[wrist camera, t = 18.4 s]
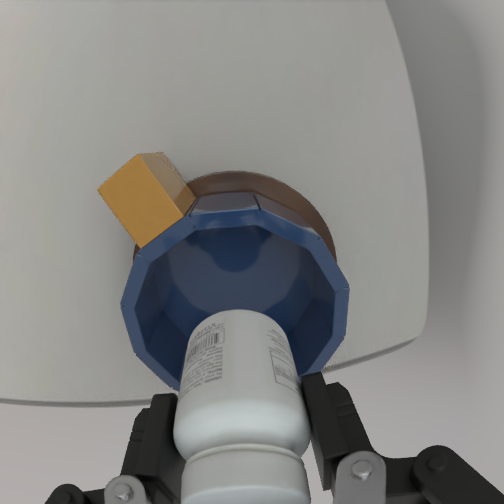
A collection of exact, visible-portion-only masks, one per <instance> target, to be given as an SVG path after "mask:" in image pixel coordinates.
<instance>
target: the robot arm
mask: <svg viewBox="0 0 504 504" xmlns="http://www.w3.org/2000/svg"><path fill="white" fill-rule="evenodd" d="M300 382H301V390H302V393H303V397H304V400H305V404H306V408H307V412H308V415H309V420H310V425H311V443H312V446H313V450H314V455H315V459H316V463H317V466H318V471H319V475H320V478H321V482H322V487H323V491H325V490H329V489H331V492H332V495H333V504H504V495H503V494H502V493H501V492H500V491H499V490H497V489H496V488H495V487H494V486H493V485H492V484H490V483H489V482H488V481H487V480H486V479H485V478H484V477H483V476H481V475H480V474H479V473H478V472H477V471H476V470H474V469H473V468H472V467H471V466H470V465H469V464H468V463H466V462H465V461H464V460H463V459H462V458H461V457H460V456H459V455H457V454H456V453H455V452H454V451H453V450H451V449H450V448H448V447H445V446H441V445H440V446H439V445H436V446H431V447H428V448H426V449H424V450H423V451H421V452H420V453H419V454H418V456H417V457H409V458H394V459H393V458H387V457H384V456H381V455H380V454H378V453H377V452H376V451H375V450H374V449H373V448H372V446H371V444H370V441H369V439H368V436H367V434H366V431H365V429H364V427H363V424H362V422H361V420H360V417H359V415H358V413H357V411H356V409H355V406H354V404H353V401H352V398H351V396H350V394H349V392H348V390H347V389H346V388H345V387H343V386H342V385H341V384H340V383H339V382H336V383H332V384H328V385H326V383H325V381H324V378H323V375H322V373H321V372H316V373H311V374H306V375H301V376H300ZM177 402H178V398H177V396H176V394H175V393H169V394H155V395H154V396H153V398H152V402H151V406H150V408H146V409H145V408H143V409H142V411H141V412H140V413H139V414H138V416H137V417H136V418H135V421H134V425H133V429H132V432H131V436H130V441H129V443H128V447H127V451H126V454H125V458H124V462H123V466H122V470H121V474H120V476H118V477H115V478H113V479H112V480H111V481H109V483H108V484H107V485H106V487H105V488H104V489H98V490H93V491H85V492H83V491H81V490H80V489H79V488H78V487H77V486H75V485H73V484H63V485H60V486H58V487H57V488H56V489H55V490H54V491H53V492H52V494H51V495H50V497H49V498H48V500H47V501H46V502H45V504H181V485H182V474H183V471H184V467H185V464H186V462H187V461H186V460H185V459H184V458H183V457H182V456H181V454H180V453H179V451H178V450H177V448H176V445H175V442H174V437H173V429H174V421H175V414H176V408H177Z"/></svg>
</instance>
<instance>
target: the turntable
mask: <svg viewBox="0 0 504 504" xmlns="http://www.w3.org/2000/svg"><path fill="white" fill-rule="evenodd" d="M186 185H187V186H188V187H189V189H190V190H191V192H192V193H193V194H194V196H195V197H196V199H197V198H198V197H200V198H201V196H207V195H216V194H222V193H241V192H252V193H254V192H255V193H257V194H259V195H261V196H264V197H266V198H268V199H270V200H273V201H275V202H277V203H279V204H281V205H282V206H284V207H286V208H288V209H290V210H292V211H294V212H296V213H298V214H299V215H300V216H301V217H302V218H303V219H304V220H305V221H306V222H307V223H308V224H309V225H310V226H311V227H312V228H313V229H314V231H315V232H316V233H317V234H318V235H319V236H320V237H321V238H322V239H323V241H324V243H325V244H326V246H327V248H328V249H329V251H330V253H331V254H332V256H333V258H334V260H335V261H336V263H337V259H336V252H335V246H334V243H333V240H332V236H331V234H330V232H329V229H328V227H327V225H326V223H325V222H324V220H323V218H322V217H321V215H320V214H319V212H318V211H317V210H316V209H315V208H314V207H313V205H312V204H311V203H310V202H309V201H308V200H307V199H305V198H304V197H303V196H302V195H301V194H300V193H298V192H297V191H295V190H294V189H292V188H291V187H289V186H288V185H286V184H285V183H283V182H280V181H278V180H276V179H274V178H272V177H269V176H265V175H262V174H258V173H253V172H246V171H224V172H216V173H212V174H208V175H204V176H201V177H198V178H196V179H193V180H191V181H189V182H187V183H186ZM140 249H141V248H140V247H139V246H138V245H137V243H136V245H135V250H134V256H133V262H134V259H135V257H136V254H137V253H138V251H139V250H140Z"/></svg>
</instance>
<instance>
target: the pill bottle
mask: <svg viewBox="0 0 504 504" xmlns="http://www.w3.org/2000/svg"><path fill="white" fill-rule="evenodd" d="M173 437H174V442H175V445H176V448H177V450H178V451H179V453H180V454H181V456H182V457H183V458H184V459H185V460H186V461H187V462H186V464H185V467H184V471H183V474H182V485H181V504H310V503H311V497H310V491H309V485H308V479H307V474H306V470H305V468H304V463H303V461H302V459H301V456H302V455H303V454H304V452H305V451H306V449H307V448H308V445H309V443H310V439H311V425H310V420H309V415H308V412H307V408H306V404H305V400H304V397H303V393H302V390H301V386H300V382H299V378H298V375H297V371H296V367H295V364H294V360H293V356H292V353H291V349H290V346H289V342H288V340H287V337H286V335H285V333H284V331H283V330H282V328H281V327H280V326H279V325H278V324H277V323H276V322H275V321H274V320H273V319H271V318H270V317H268V316H266V315H264V314H261V313H258V312H255V311H251V310H240V309H237V310H228V311H222V312H219V313H216V314H214V315H212V316H210V317H208V318H206V319H205V320H204V321H202V322H201V323H200V324H199V325H198V326H197V327H196V328H195V329H194V331H193V332H192V334H191V336H190V339H189V342H188V347H187V351H186V356H185V363H184V368H183V374H182V379H181V385H180V391H179V397H178V402H177V408H176V414H175V421H174V429H173Z"/></svg>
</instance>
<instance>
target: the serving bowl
mask: <svg viewBox="0 0 504 504" xmlns="http://www.w3.org/2000/svg"><path fill="white" fill-rule="evenodd" d="M97 191H98V192H99V194H100V195H101V196H102V198H103V199H104V201H105V202H106V203H107V205H108V206H109V208H110V209H111V210H112V212H113V213H114V214H115V216H116V217H117V218H118V220H119V221H120V222H121V224H122V225H123V226H124V228H125V229H126V230H127V232H128V233H129V234H130V236H131V237H132V238H133V240H134V241H135V242H136V243H137V245H138V246H139V247H140V248H141V249H140V250H139V251H138V253H137V254H136V257H135V259H134V262H133V265H132V268H131V271H130V274H129V277H128V280H127V284H126V287H125V290H124V293H123V296H122V299H121V303H120V304H121V310H122V314H123V317H124V321H125V324H126V328H127V331H128V334H129V338H130V341H131V344H132V347H133V350H134V353H136V356H137V357H138V358H139V359H140V360H141V361H142V362H143V363H144V364H145V365H146V366H147V367H149V368H150V369H151V370H152V371H153V372H154V373H155V374H156V375H157V376H158V377H159V378H160V379H161V380H162V381H163V382H165V383H166V384H167V385H168V386H169V387H170V388H172V387H173V390H176V391H180V385H181V379H182V374H183V368H184V363H185V356H186V351H187V347H188V342H189V339H190V336H191V334H192V332H193V331H194V329H195V328H196V327H197V326H198V325H199V324H200V323H201V322H202V321H204V320H205V319H206V318H208V317H210V316H212V315H214V314H216V313H219V312H222V311H228V310H237V309H240V310H251V311H255V312H258V313H261V314H264V315H266V316H268V317H270V318H271V319H273V320H274V321H275V322H276V323H277V324H278V325H279V326H280V327H281V328H282V330H283V331H284V333H285V335H286V337H287V340H288V342H289V346H290V349H291V353H292V356H293V360H294V364H295V367H296V371H297V375H298V378H299V382H300V376H301V375H306V374H311V373H316V372H320V371H321V370H322V369H323V367H324V366H325V365H326V363H327V362H328V361H329V359H330V358H331V357H332V355H333V354H334V352H335V351H336V350H337V348H338V347H339V345H340V344H341V343H342V341H343V340H344V336H345V335H346V324H347V313H348V301H349V287H348V286H349V284H348V282H347V280H346V279H345V277H344V275H343V273H342V272H341V270H340V268H339V266H338V265H337V263H336V261H335V260H334V258H333V256H332V254H331V253H330V251H329V249H328V248H327V246H326V244H325V243H324V241H323V239H322V238H321V237H320V236H319V235H318V234H317V233H316V232H315V231H314V229H313V228H312V227H311V226H310V225H309V224H308V223H307V222H306V221H305V220H304V219H303V218H302V217H301V216H300V215H299V214H298V213H296V212H294V211H292V210H290V209H288V208H286V207H284V206H282V205H281V204H279V203H277V202H275V201H273V200H270V199H268V198H266V197H264V196H261V195H259V194H257V193H255V192H254V193H252V192H241V193H222V194H216V195H207V196H201V198H200V197H198V198H197V199H196V197H195V196H194V194H193V193H192V192H191V190H190V189H189V187H188V186H187V185H186V183H185V182H184V181H183V179H182V178H181V176H180V175H179V174H178V172H177V171H176V170H175V168H174V167H173V165H172V164H171V163H170V161H169V160H168V158H167V157H166V156H165V154H164V153H163V152H156V153H144V154H137V155H136V156H135V157H133V158H132V159H131V160H130V161H129V162H127V163H126V164H125V165H124V166H123V167H121V168H120V169H119V170H118V171H117V172H116V173H115V174H113V175H112V176H111V177H110V178H109V179H108V180H107V181H106V182H104V183H103V184H102V185H101V186H100V187H99V188H98V189H97ZM300 386H301V382H300Z"/></svg>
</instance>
